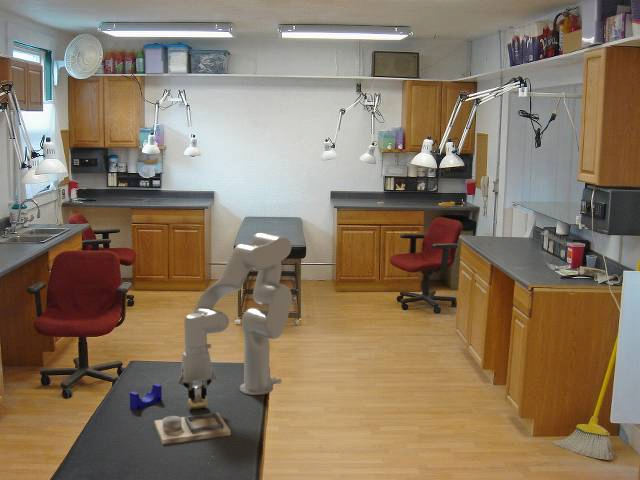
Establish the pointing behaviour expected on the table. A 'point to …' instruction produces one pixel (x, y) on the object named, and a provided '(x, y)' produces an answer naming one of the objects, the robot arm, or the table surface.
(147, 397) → the cable clip
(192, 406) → the gold and silver knob
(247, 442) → the table surface
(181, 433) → the carrier plate
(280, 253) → the robot arm
